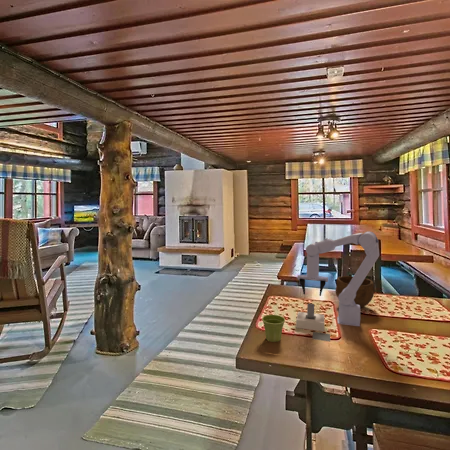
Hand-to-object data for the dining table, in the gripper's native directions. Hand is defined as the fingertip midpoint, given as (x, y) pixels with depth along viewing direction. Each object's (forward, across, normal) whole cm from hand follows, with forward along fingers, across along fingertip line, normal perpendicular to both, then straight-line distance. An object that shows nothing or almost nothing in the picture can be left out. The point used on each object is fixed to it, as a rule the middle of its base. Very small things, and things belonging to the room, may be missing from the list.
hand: (312, 294), depth 151 cm
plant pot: (+11, -14, -32) cm, 37 cm away
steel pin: (+10, 0, -14) cm, 17 cm away
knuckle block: (+10, 0, -14) cm, 17 cm away
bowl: (+11, +21, +19) cm, 30 cm away
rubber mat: (+10, +5, -24) cm, 27 cm away
